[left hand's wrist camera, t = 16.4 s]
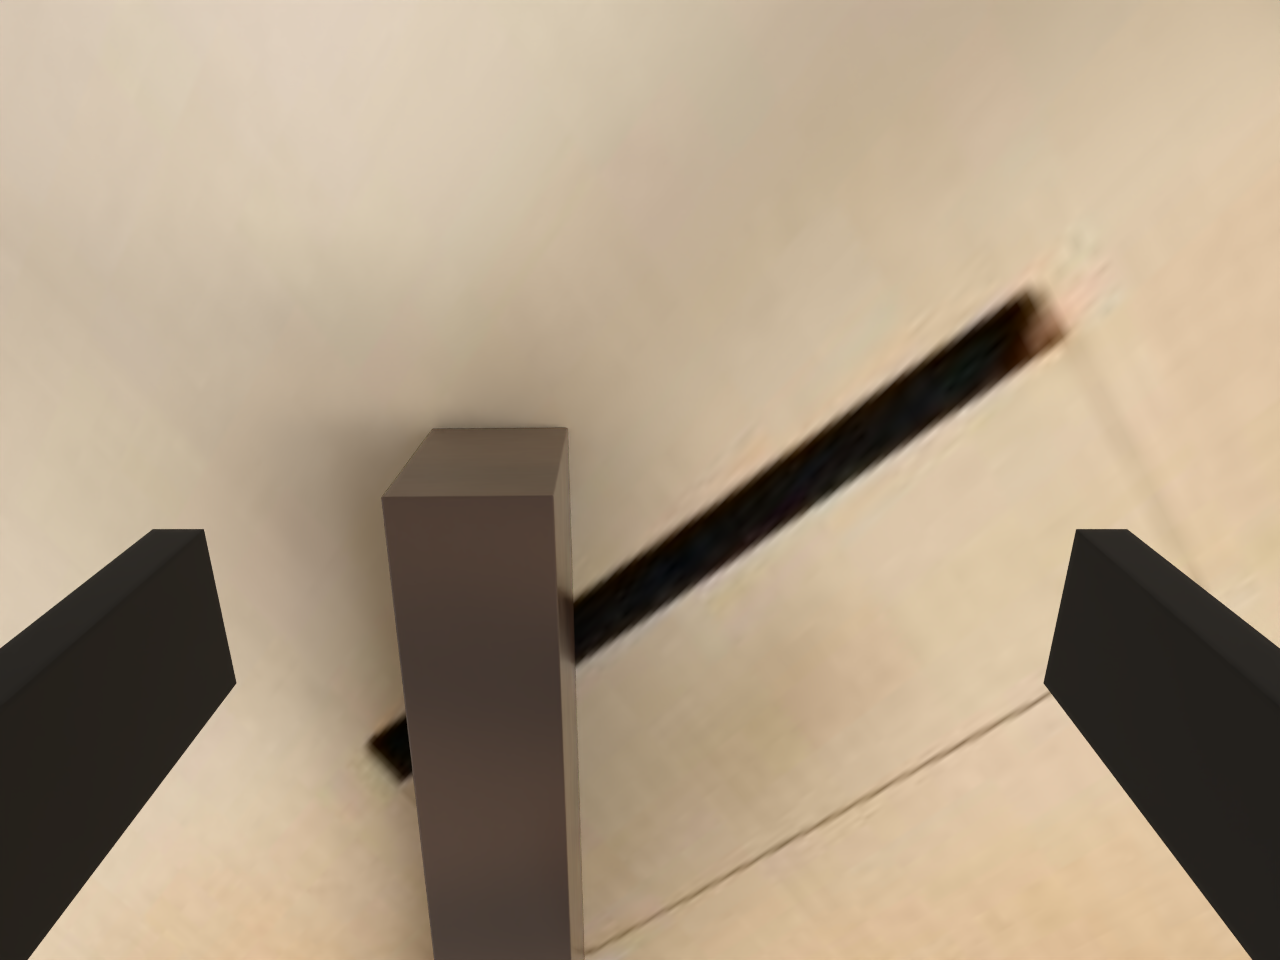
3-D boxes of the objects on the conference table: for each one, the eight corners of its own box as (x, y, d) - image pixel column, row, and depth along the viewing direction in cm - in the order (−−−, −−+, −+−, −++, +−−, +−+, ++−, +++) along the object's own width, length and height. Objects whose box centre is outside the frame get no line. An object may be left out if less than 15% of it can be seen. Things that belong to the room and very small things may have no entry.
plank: (431, 428, 31) (380, 497, 24) (568, 427, 31) (553, 495, 24) (486, 1043, 42) (461, 1205, 35) (587, 1041, 42) (581, 1202, 35)
